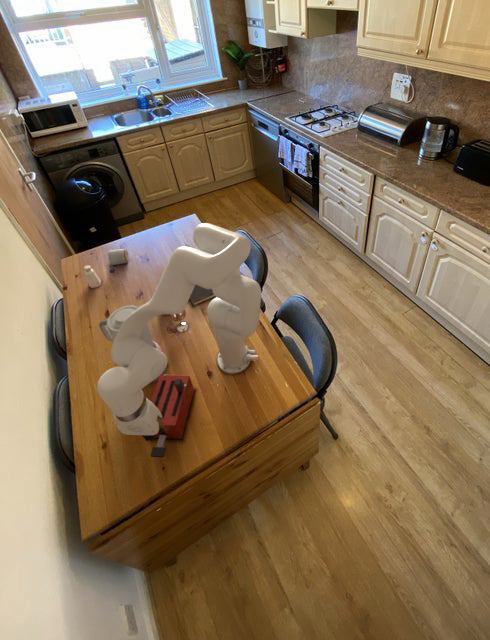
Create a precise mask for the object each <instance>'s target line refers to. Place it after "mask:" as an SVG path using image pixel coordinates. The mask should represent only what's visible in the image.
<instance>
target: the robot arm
mask: <svg viewBox="0 0 490 640" xmlns="http://www.w3.org/2000/svg"><path fill="white" fill-rule="evenodd" d="M192 236H193V237H192V238H193V242H194V244H195V246H196V247H197V248H195V247H191V246H187V245H186V246H178V247H177V248H175V250H174V251H173V252H172V254H171V255H170V257H169V259H168V262H167V264H166V266H165V268H164V270H163V273H162V275H161V277H160V279H159V280H158V281H159V282H158V284H157V286H156V287H155V289H154V291H155V292H154V291H153V294H152V297H151V298H150V299H149V301H147V302H145V303H144V304H141V305H140V306H138V307H139V308H138V309H136V310H135V311H134V312H133V313H132V314H131V315H129V316H128V317H127V318H126V320H125V321H124V322H123V324H122V325H121V327H120V329H119V331H118V334H117V336H116V338H115V340H114V341H113V343H112V345H111V350H110V358H111V360H112V362H113V363H114V364H116V366H114V367H111V368H109V369H108V370H106V371H104V372H103V374H102V375H101V376H100V377H99V379H98V381H97V384H96V391H97V394H98V395H99V397H100V398H101V400H102V401H103V402H104V404H106V406H107V407H108V408H109V410H110V411H111V412H112V419H113V422H114V424H115V426H116V427H117V429H118V430H119V431H120V433H121V434H124V435H128V436H129V435H130V436H142V437H143V440H144V441H145V442H153V440H154V439H153V437H155V434H157V433H158V431H159V429H163V427H164V423H163V422H162V421H161V420H160V419H162V415H161V413H160V411H159V410H158V408H157V407H156V406H155V405H154V404H153V403H152V402H151V399H148V398H147V396H146V395H145V393H144V391H143V389H144V388H145V387H147V386H148V385H150V384H149V383H150V382H152V381H153V380H154V379H156V378H157V377H158V376H159V375H161V374H162V373H163V371H164V370H165V368H166V366H167V367H168V362H169V360H168V359H169V358H168V356H167V355H166V354H165V353H164V352H163V351H162V350H161V351H162V352H161V351H160V350H158V349H156V348H154V347H152V346H151V345H149V344H147V343H146V342H144V341H142V340H140V339H139V337H140V334H141V332H142V330H143V328H144V326H145V325H146V324H147V323H149V322H150V321H151V320H152V319H154V318H156V317H158V316H161V315H163V314H168V315H170V314H180V313H182V312H183V311H184V309H186V307H187V306H188V305H187V304H188V302H189V301H190V299H189V298H190V296H191V293H192V291H193V289H194V286H195V284H196V285H198V286H200V287H203V288H205V289H212V290H213V294H214V295H215V296H216V297H214V298H212V300H211V301H210V302H209V304H208V306H207V308H206V314H207V319H208V321H209V324H210V325H211V327H212V329H213V331H214V335H215V339H216V343H217V347H218V351H219V352H218V355H217V366H218V367H219V369H220V370H221V371H222V372H224V373H225V374H230V375H231V374H232V375H233V374H240V373H241V372H243V371H245V369H247V368H248V366H250V364H251V361H254V362H255V361H257V362H258V361H259V355H258V354H256V353H257V350H256V349H250V348H249V347H248V345H246V342H245V338H250V337H252V336H253V335H254V334H255V333H256V331H257V329H258V327H259V322H260V315H261V301H262V289H261V285H260V284H259V282H257V281H256V280H254V279H253V278H250V277H248V276H246V275H244V274H242V273H241V266H242V265H243V264H244V263H245V262H246V261H247V260H248V258H249V255H250V253H251V249H252V246H251V241H250V240H249V238H248V237H247V236H245V235H244V234H241V233H238V232H235V231H232V230H230V229H226V228H224V227H221V226H218V225H215V224H212V223H209V222H203V223H200V224H199V223H198V225H197V226H195V228H194V230H193V234H192ZM166 369H167V368H166Z"/></svg>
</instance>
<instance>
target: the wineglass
mask: <svg viewBox="0 0 490 640" xmlns="http://www.w3.org/2000/svg"><path fill="white" fill-rule="evenodd" d="M185 309H186V308H185ZM185 309H184V311H183V312H182V313H180V314H169V315H170V318H171V319H172V321H173V322H179V324H178V325H177V327H176V330H177V331H178V332H179V333H183V332H185V331H187V330H188V328H189V325H188V323H187V322H182V321H183V320H184V319H185V318H186V314H187V313H186V310H185Z"/></svg>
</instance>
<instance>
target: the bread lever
mask: <svg viewBox="0 0 490 640" xmlns="http://www.w3.org/2000/svg"><path fill="white" fill-rule="evenodd" d="M165 439H166V435H160V436H159V440H158V439H157V444H156V446H152V449H151V452H150V458H158V459H163V458H164V455H165V452H166V447H165V446H164V445H165V443H166V440H165Z"/></svg>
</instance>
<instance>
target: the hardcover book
mask: <svg viewBox="0 0 490 640" xmlns="http://www.w3.org/2000/svg"><path fill="white" fill-rule="evenodd" d="M214 298H216V296H215V295H214V294H213V290H212V289H205V288H203V287H200V286H198V285H196V284H195V286H194V289H193V291H192V293H191V296H190V298H189V301H190V302H191V304H192V307H196V306H198V305H200V304H203V303H205V302H207V301H209V300H211V299H212V300H213V299H214Z"/></svg>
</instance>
